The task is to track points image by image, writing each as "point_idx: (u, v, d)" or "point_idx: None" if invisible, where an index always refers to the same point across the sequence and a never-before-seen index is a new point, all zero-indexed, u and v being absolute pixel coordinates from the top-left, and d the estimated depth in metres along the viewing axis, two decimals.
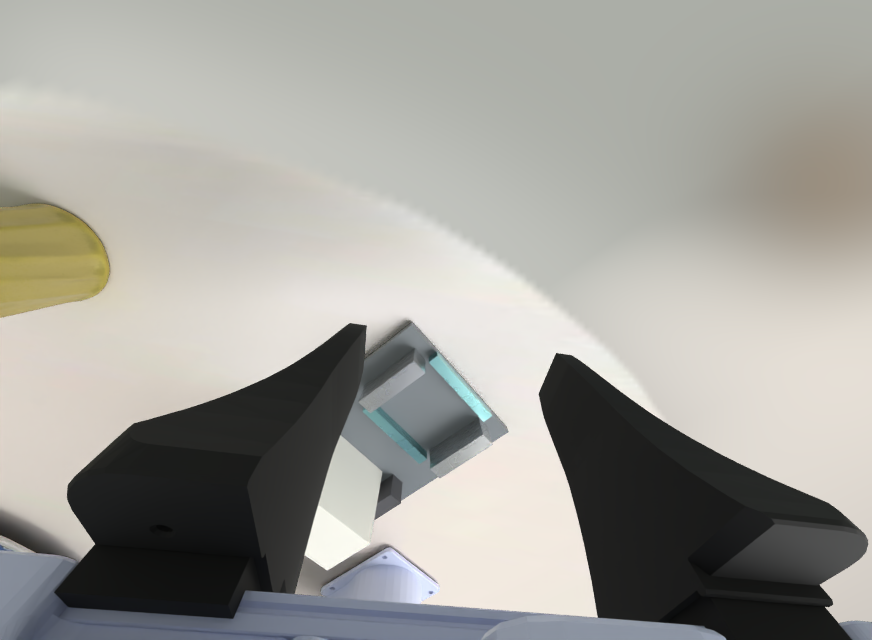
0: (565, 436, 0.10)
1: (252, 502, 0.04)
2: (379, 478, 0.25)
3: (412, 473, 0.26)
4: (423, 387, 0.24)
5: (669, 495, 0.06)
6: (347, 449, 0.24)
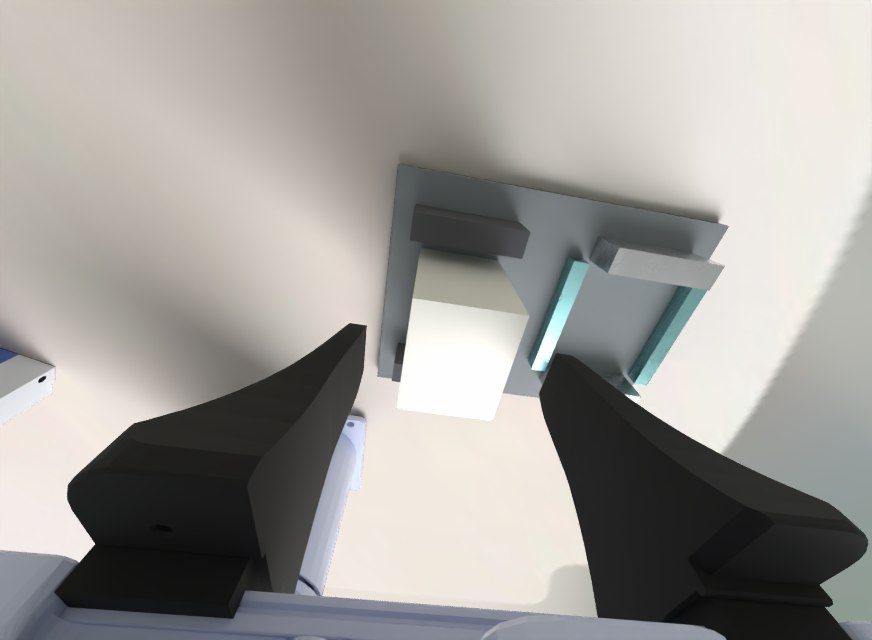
0: (565, 436, 0.10)
1: (252, 502, 0.04)
2: None
3: None
4: (635, 300, 0.17)
5: (669, 495, 0.06)
6: None
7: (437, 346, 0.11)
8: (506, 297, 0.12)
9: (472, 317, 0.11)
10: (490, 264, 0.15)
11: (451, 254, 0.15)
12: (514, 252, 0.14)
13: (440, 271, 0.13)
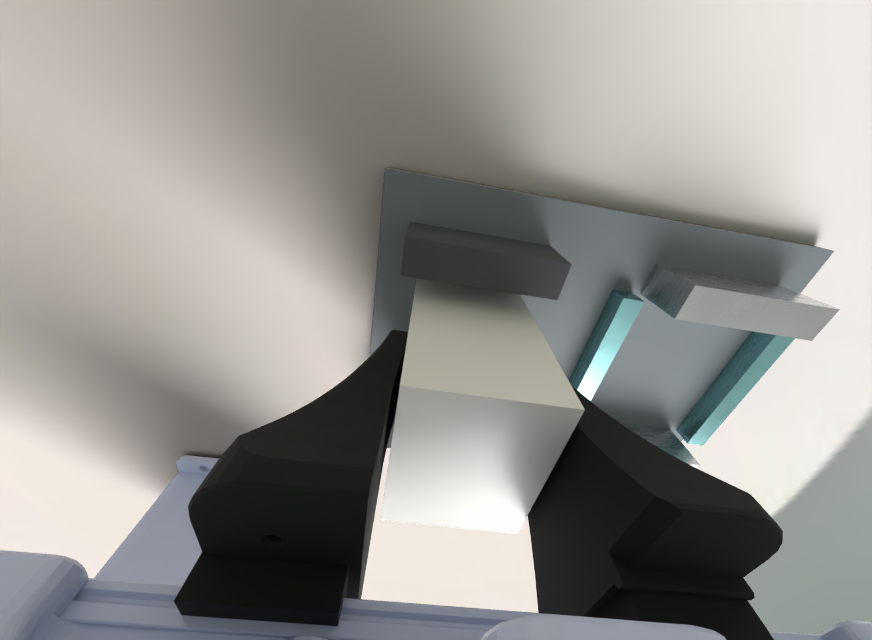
0: None
1: (365, 513, 0.04)
2: None
3: None
4: (695, 343, 0.13)
5: (597, 487, 0.06)
6: None
7: (439, 448, 0.07)
8: (542, 368, 0.08)
9: (495, 412, 0.07)
10: (511, 301, 0.11)
11: (458, 287, 0.11)
12: (547, 291, 0.10)
13: (443, 320, 0.09)
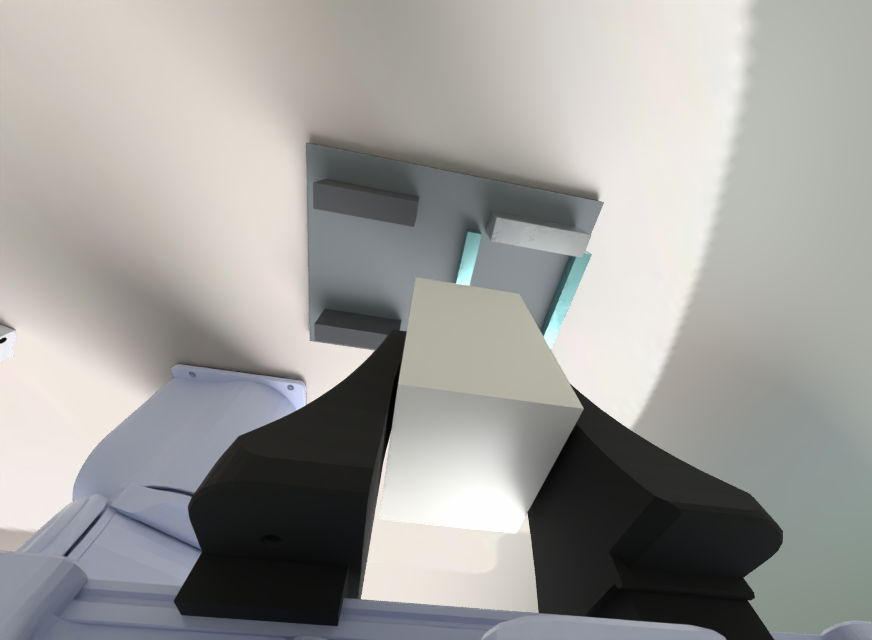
0: None
1: (364, 513, 0.04)
2: None
3: None
4: (532, 270, 0.19)
5: (597, 487, 0.06)
6: None
7: (438, 447, 0.07)
8: (541, 367, 0.08)
9: (493, 410, 0.07)
10: (510, 301, 0.11)
11: (457, 286, 0.11)
12: (406, 220, 0.16)
13: (442, 319, 0.09)
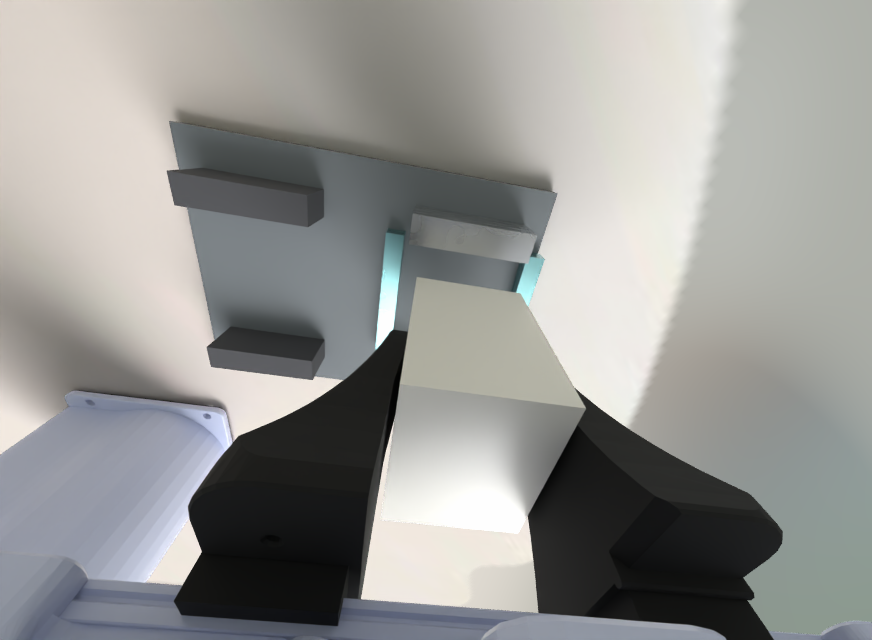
0: None
1: (365, 513, 0.04)
2: None
3: (349, 357, 0.18)
4: (475, 278, 0.15)
5: (597, 487, 0.06)
6: None
7: (439, 447, 0.07)
8: (543, 367, 0.08)
9: (495, 410, 0.07)
10: (511, 300, 0.11)
11: (458, 286, 0.11)
12: (297, 219, 0.12)
13: (443, 319, 0.09)
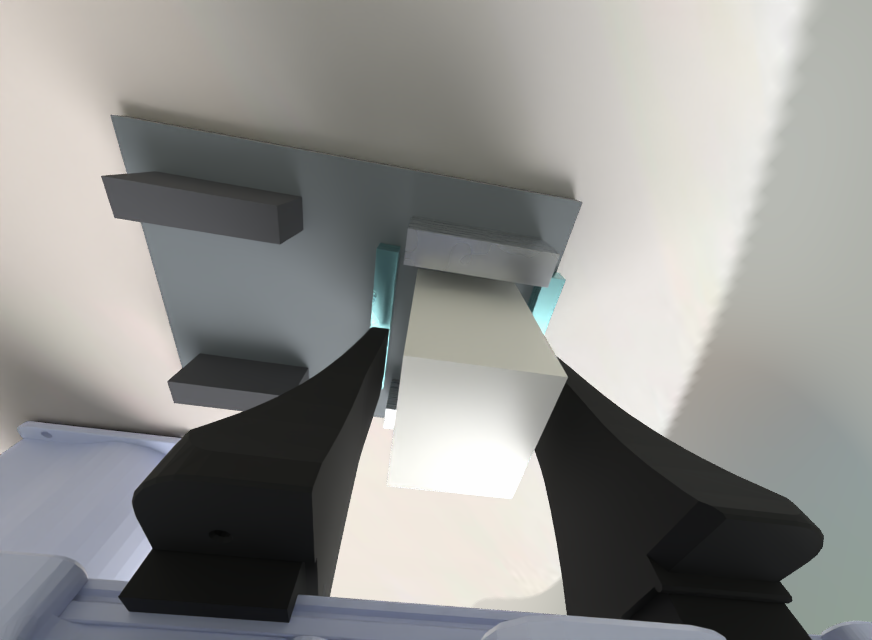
0: (542, 433, 0.10)
1: (312, 508, 0.04)
2: None
3: None
4: None
5: (632, 491, 0.06)
6: None
7: (439, 415, 0.08)
8: (532, 344, 0.09)
9: (487, 379, 0.08)
10: (505, 288, 0.12)
11: (456, 276, 0.12)
12: (266, 235, 0.10)
13: (442, 304, 0.10)
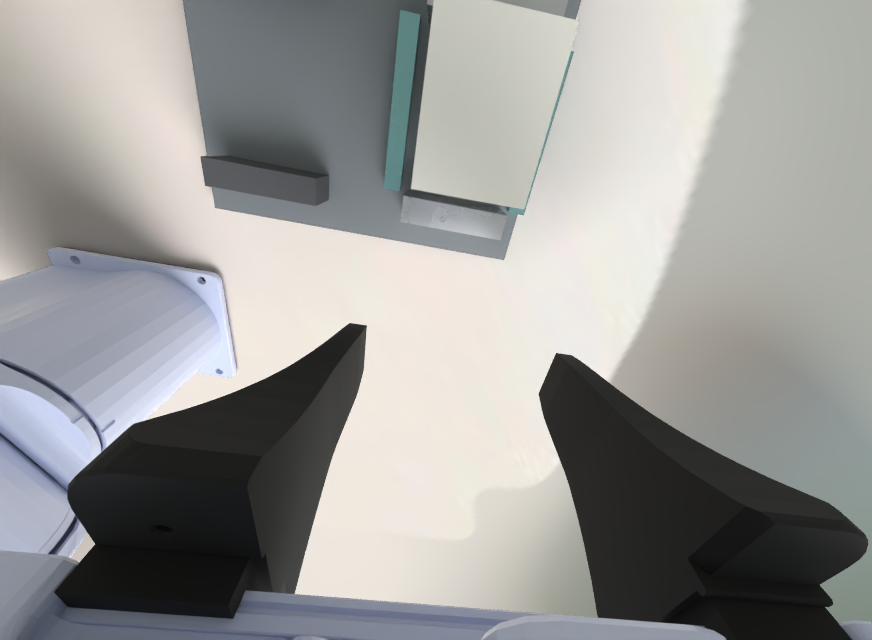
0: (565, 436, 0.10)
1: (252, 502, 0.04)
2: None
3: (355, 200, 0.16)
4: None
5: (669, 495, 0.06)
6: None
7: (463, 77, 0.09)
8: None
9: (509, 23, 0.09)
10: None
11: None
12: None
13: None
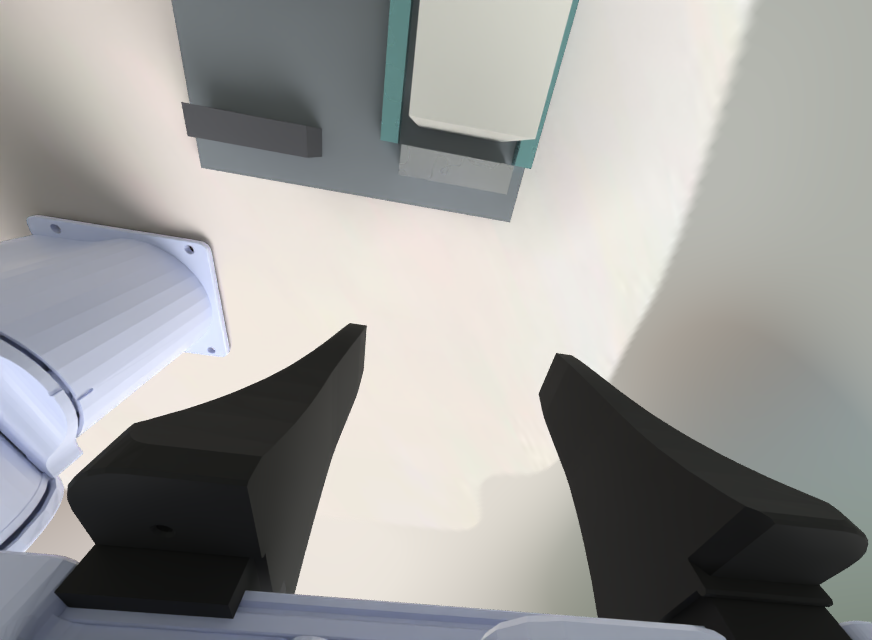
0: (565, 436, 0.10)
1: (252, 502, 0.04)
2: None
3: (350, 156, 0.15)
4: None
5: (669, 495, 0.06)
6: None
7: None
8: None
9: None
10: None
11: None
12: None
13: None
